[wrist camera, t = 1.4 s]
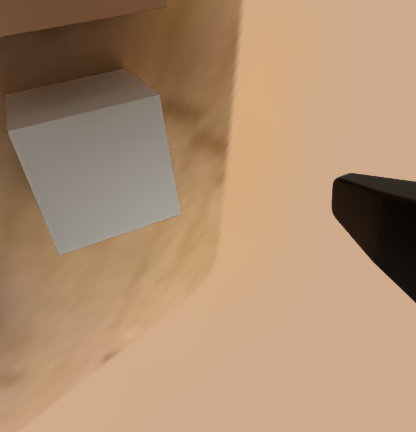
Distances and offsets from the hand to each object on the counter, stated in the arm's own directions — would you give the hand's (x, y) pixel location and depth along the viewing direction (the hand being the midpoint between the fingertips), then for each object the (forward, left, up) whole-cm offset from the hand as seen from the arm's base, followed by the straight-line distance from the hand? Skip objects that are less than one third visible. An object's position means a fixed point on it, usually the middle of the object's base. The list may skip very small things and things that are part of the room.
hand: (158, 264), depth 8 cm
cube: (-1, 0, -12) cm, 12 cm away
